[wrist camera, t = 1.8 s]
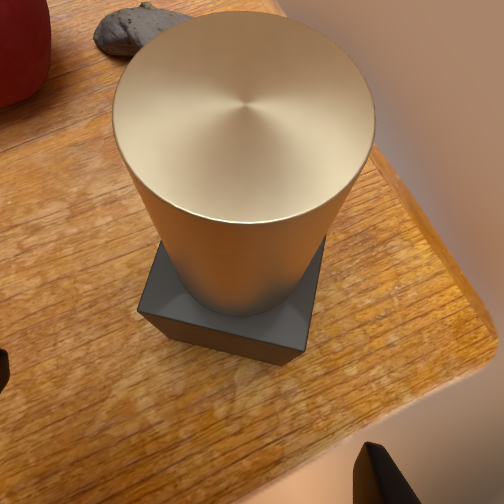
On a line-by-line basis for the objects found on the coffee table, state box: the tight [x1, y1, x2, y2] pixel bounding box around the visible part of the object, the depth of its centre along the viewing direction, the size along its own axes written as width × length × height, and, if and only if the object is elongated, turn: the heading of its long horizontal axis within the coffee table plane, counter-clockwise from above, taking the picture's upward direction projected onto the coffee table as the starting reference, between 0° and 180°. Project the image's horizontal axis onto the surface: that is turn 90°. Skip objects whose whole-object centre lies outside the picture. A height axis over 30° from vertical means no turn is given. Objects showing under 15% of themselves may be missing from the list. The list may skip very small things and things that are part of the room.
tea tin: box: [112, 11, 376, 316], centre depth 12 cm, size 6×6×9 cm
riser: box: [137, 233, 327, 366], centre depth 20 cm, size 7×7×8 cm
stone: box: [93, 2, 193, 57], centre depth 29 cm, size 13×6×5 cm
